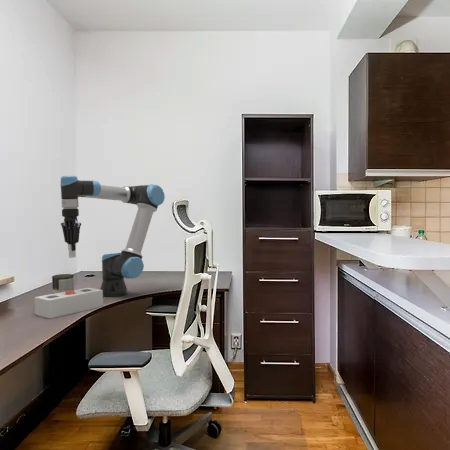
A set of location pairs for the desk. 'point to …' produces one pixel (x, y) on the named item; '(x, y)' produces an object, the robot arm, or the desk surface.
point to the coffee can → (62, 283)
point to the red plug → (69, 292)
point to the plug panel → (68, 303)
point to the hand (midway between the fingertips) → (72, 257)
